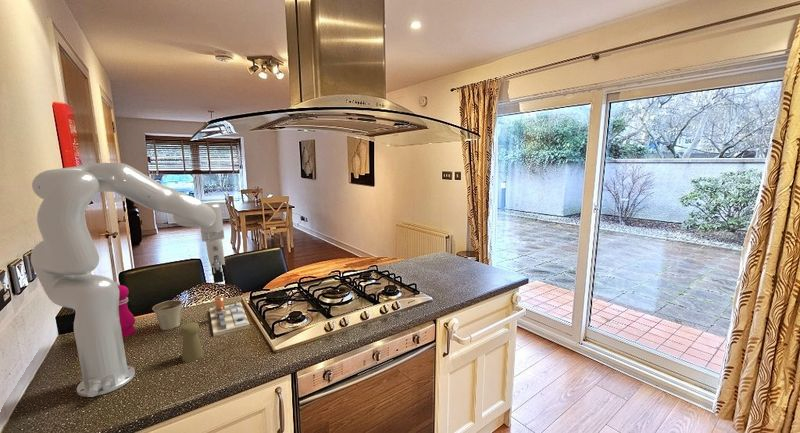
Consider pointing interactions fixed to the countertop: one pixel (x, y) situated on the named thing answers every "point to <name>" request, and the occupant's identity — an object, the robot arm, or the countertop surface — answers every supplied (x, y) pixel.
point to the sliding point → (222, 306)
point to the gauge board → (229, 319)
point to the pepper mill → (125, 312)
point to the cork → (191, 342)
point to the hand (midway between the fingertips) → (217, 278)
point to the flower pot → (168, 314)
